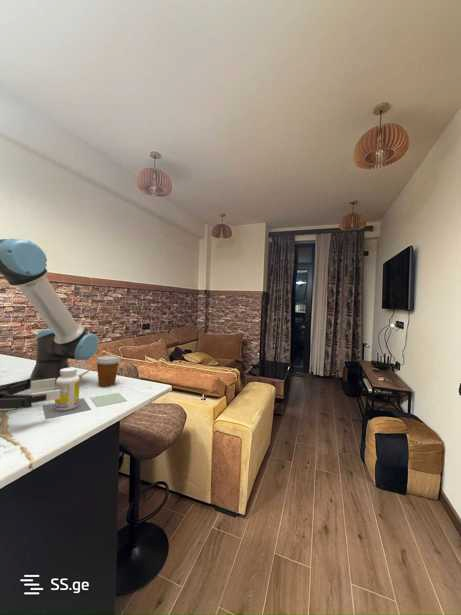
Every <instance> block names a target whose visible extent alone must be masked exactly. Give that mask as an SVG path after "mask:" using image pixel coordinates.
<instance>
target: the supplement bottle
mask: <svg viewBox="0 0 461 615" xmlns="http://www.w3.org/2000/svg"><path fill="white" fill-rule="evenodd" d="M77 370H78V368H76V367H70V368H64V369H61V370H60V375H61V376H60V377H59V378H58V379H57V380H56V383H55V390H59V389H60V399H56V400H54V403H55V409H56V410H59V411H65V410H70V409H73V408H75V407H77V406H78V403H79V399H80V383H81V382H80V380H81V378H80V376H79V375H77Z"/></svg>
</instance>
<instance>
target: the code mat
mask: <svg viewBox="0 0 461 615" xmlns="http://www.w3.org/2000/svg"><path fill="white" fill-rule="evenodd" d="M42 410H43V412H44V419H45V420H49V419H53V418H58V417H62V416H68V415H73V414H77V413H81V412H86V411H91V410H92V409H91V407H90V406H89V404H88V402H87V401H86V399H85V398H84V397H83V398H79V403H78V406H77V407H75V408H73V409H70V410H65V411H59V410H56V409H55V402H54V403H48V404H45V405H44V404H43V405H42Z"/></svg>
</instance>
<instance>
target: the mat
mask: <svg viewBox="0 0 461 615" xmlns="http://www.w3.org/2000/svg"><path fill="white" fill-rule="evenodd" d="M90 400H91V401H92V402H93V404H94V406H95V407H96V408H99V407H104V406H108V405H113V404H118V403H124V402H127V401H128V400H127V399H126V398H125V397H124V396H123V395H121V393H119V392H114V393H109V394H103V395H98V396H94V397H92V396H91V397H90Z"/></svg>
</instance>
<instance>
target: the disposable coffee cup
mask: <svg viewBox="0 0 461 615" xmlns="http://www.w3.org/2000/svg"><path fill="white" fill-rule="evenodd" d="M120 361H121V359H120V357H119V356H118V355H102V356H101V355H100V356H98V357H96V360H95V362H96V366H97V380H98V386H99V387H102V388H108V387H112V385H113V386H114V385H115V384H116V378H117V375H118V374H117V373H118V369H119V363H120Z"/></svg>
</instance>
